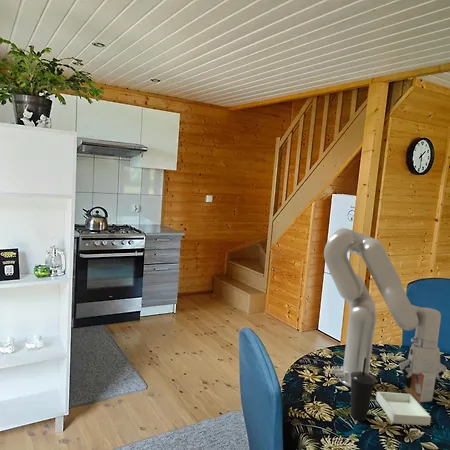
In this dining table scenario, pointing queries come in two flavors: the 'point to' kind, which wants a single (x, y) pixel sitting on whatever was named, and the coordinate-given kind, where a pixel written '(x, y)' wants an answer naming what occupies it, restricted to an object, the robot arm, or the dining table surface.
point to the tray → (403, 408)
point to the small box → (422, 386)
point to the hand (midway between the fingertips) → (420, 387)
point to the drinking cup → (361, 393)
